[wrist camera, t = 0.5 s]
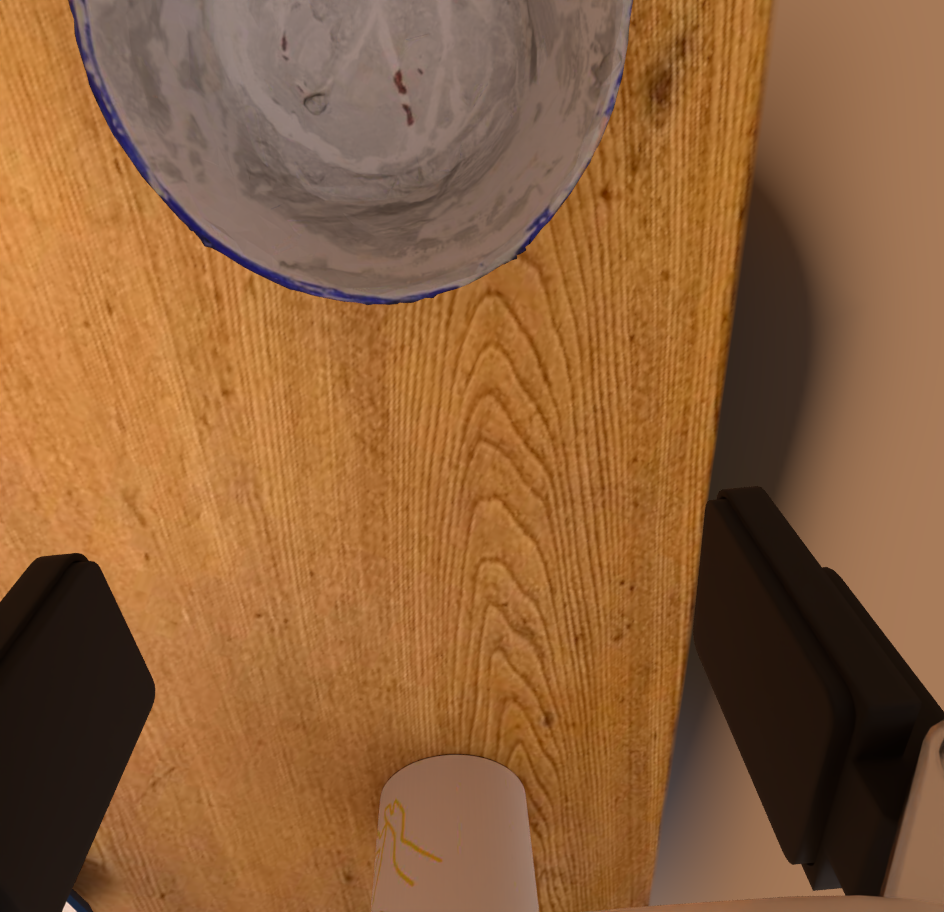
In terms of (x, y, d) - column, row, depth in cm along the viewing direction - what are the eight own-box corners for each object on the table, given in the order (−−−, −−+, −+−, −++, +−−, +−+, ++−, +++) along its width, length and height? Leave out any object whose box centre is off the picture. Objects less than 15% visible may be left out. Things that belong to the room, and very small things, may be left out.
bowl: (107, 168, 21) (26, 193, 17) (194, -387, 16) (105, -550, 12) (486, 319, 24) (495, 372, 20) (674, -103, 19) (742, -151, 14)
